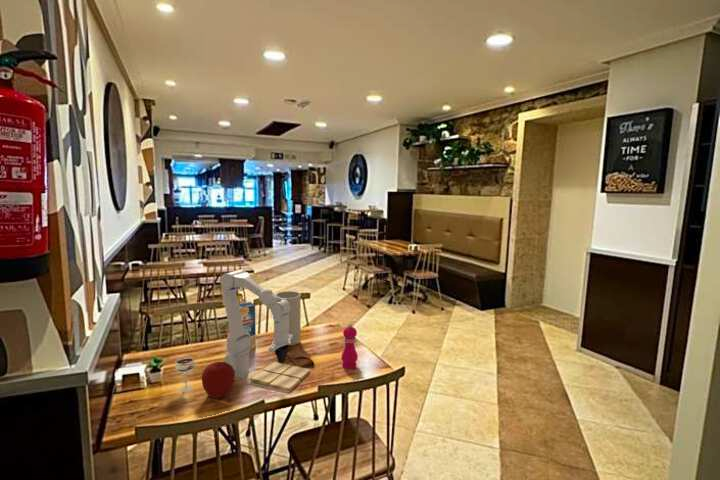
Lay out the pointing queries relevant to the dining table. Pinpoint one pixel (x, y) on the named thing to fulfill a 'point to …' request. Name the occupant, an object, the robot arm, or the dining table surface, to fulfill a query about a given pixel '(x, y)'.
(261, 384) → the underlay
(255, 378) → the plank
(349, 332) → the pepper mill
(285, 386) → the plank
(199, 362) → the dining table surface
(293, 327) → the cylinder vase
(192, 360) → the wineglass
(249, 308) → the beverage box
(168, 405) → the dining table surface
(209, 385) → the apple
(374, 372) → the dining table surface
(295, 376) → the laid row
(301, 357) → the brown shoe
